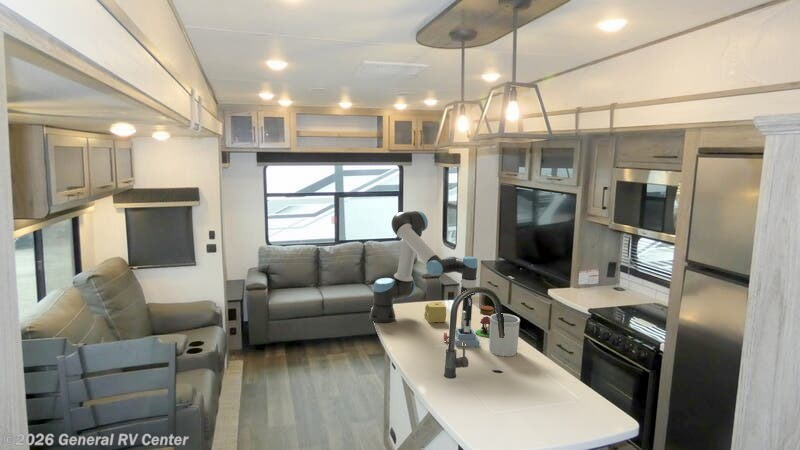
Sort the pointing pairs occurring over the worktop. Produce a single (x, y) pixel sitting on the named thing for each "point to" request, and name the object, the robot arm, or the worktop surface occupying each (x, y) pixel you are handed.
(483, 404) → the worktop surface
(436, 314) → the cheese
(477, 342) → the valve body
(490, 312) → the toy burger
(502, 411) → the worktop surface
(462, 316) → the pipe stub
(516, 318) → the utensil holder
